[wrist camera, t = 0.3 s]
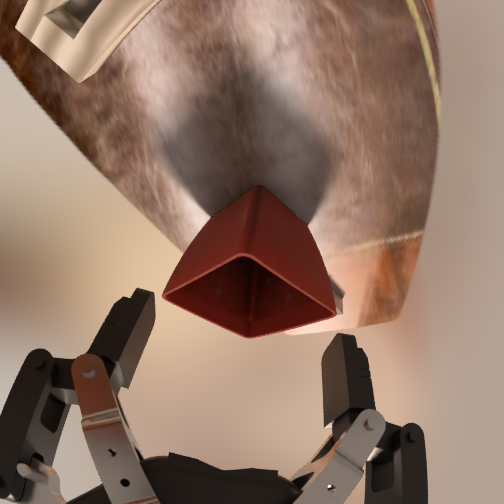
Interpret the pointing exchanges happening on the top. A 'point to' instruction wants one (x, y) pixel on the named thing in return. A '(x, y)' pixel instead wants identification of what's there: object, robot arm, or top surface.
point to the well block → (81, 30)
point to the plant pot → (253, 270)
